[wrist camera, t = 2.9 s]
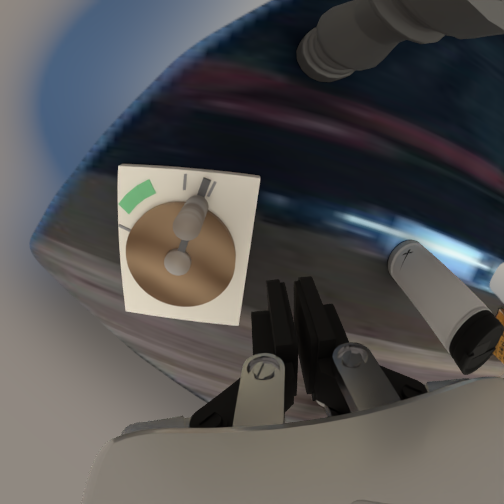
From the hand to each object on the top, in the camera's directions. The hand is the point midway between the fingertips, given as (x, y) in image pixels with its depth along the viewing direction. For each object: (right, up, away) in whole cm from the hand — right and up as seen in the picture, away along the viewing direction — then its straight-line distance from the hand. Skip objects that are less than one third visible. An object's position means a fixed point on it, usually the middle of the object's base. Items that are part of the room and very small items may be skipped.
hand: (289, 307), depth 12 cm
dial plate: (-10, +3, +23) cm, 25 cm away
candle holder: (+6, +24, +13) cm, 28 cm away
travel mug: (+20, +1, +25) cm, 32 cm away
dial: (-9, +4, +21) cm, 23 cm away
